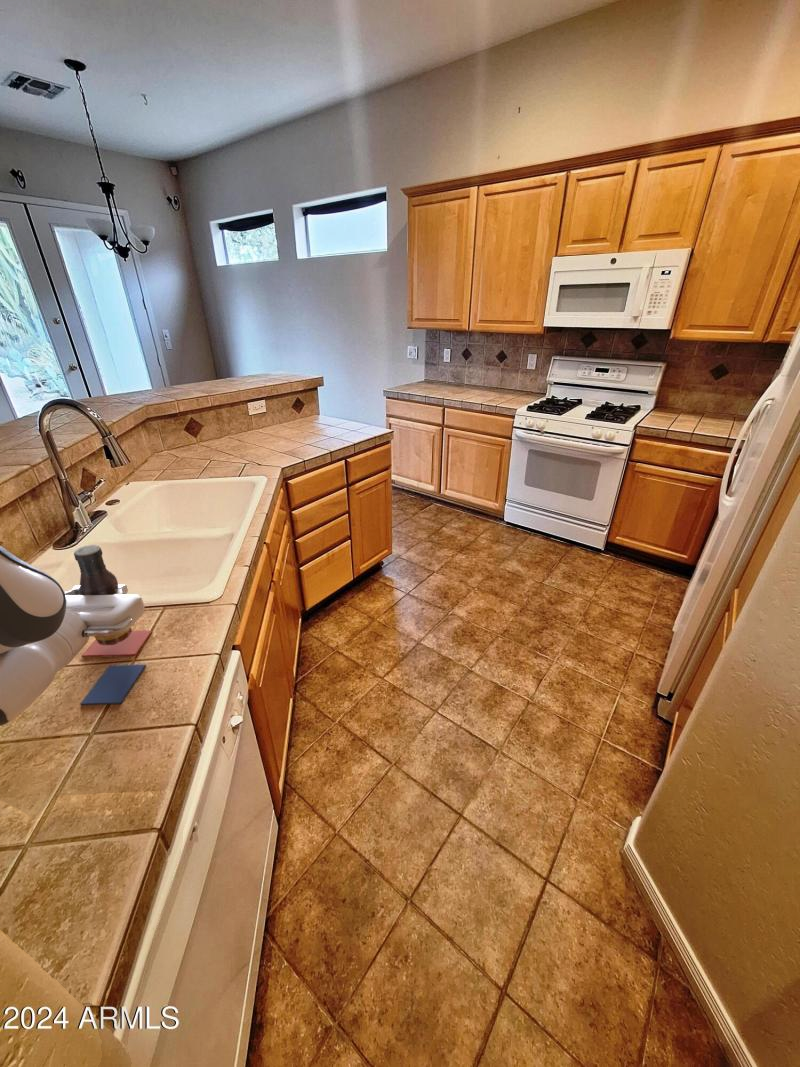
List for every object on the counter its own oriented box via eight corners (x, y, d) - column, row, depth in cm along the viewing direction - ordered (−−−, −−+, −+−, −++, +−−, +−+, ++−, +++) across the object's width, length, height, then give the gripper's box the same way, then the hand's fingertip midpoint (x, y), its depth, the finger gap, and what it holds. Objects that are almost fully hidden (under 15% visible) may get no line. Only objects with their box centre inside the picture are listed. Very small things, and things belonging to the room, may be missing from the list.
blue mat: (80, 705, 72) (80, 703, 72) (109, 667, 80) (109, 665, 80) (121, 704, 73) (120, 702, 72) (146, 665, 81) (145, 664, 80)
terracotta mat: (81, 657, 82) (81, 655, 82) (102, 632, 89) (102, 631, 89) (135, 655, 83) (135, 654, 83) (152, 631, 89) (152, 630, 89)
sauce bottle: (88, 643, 83) (53, 553, 75) (117, 624, 89) (88, 538, 80) (113, 651, 81) (80, 560, 73) (141, 631, 87) (114, 544, 78)
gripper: (115, 618, 68) (155, 573, 80) (-21, 621, 67) (40, 574, 79) (126, 649, 71) (162, 600, 83) (-5, 653, 69) (52, 603, 82)
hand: (102, 588), depth 81 cm, fingers closed on sauce bottle, 6 cm apart
